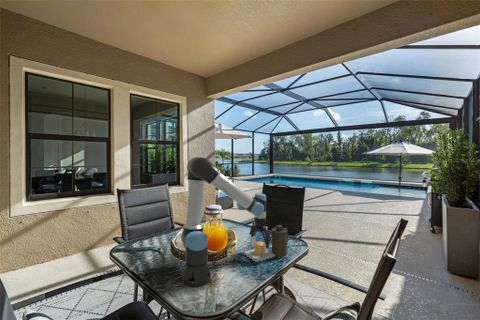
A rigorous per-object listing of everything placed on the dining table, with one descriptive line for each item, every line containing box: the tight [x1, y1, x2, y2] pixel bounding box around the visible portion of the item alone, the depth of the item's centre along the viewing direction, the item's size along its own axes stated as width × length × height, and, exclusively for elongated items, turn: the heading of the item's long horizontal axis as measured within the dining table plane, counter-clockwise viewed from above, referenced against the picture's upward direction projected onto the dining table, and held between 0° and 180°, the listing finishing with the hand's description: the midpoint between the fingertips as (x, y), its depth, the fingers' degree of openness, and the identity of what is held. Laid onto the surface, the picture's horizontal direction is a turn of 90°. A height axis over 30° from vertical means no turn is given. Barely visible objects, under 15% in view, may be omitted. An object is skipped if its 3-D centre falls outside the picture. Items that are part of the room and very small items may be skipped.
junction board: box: [243, 248, 275, 263], centre depth 146 cm, size 16×14×6 cm
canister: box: [271, 224, 289, 258], centre depth 148 cm, size 11×10×20 cm
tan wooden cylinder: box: [253, 241, 265, 255], centre depth 146 cm, size 7×7×6 cm
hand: (259, 249), depth 146 cm, fingers open, 13 cm apart
